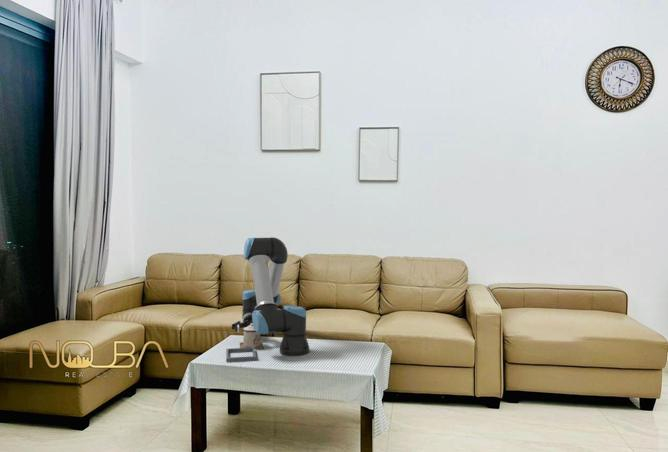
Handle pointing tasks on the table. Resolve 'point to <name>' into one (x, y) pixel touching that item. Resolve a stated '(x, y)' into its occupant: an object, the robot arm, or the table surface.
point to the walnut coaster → (250, 347)
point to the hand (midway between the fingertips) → (251, 329)
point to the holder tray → (235, 359)
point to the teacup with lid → (251, 337)
